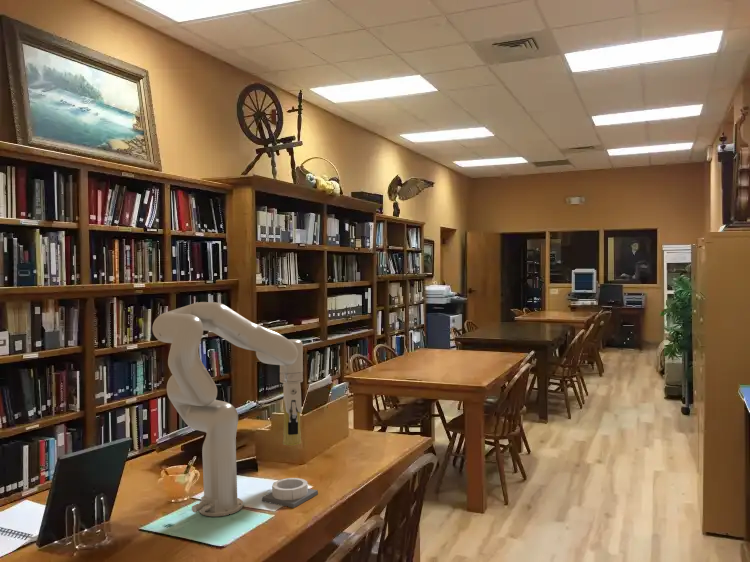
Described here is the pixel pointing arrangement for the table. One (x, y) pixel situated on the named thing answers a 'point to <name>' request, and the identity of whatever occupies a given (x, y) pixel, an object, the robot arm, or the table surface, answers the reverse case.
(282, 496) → the mount
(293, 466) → the table surface
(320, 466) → the table surface
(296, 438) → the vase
